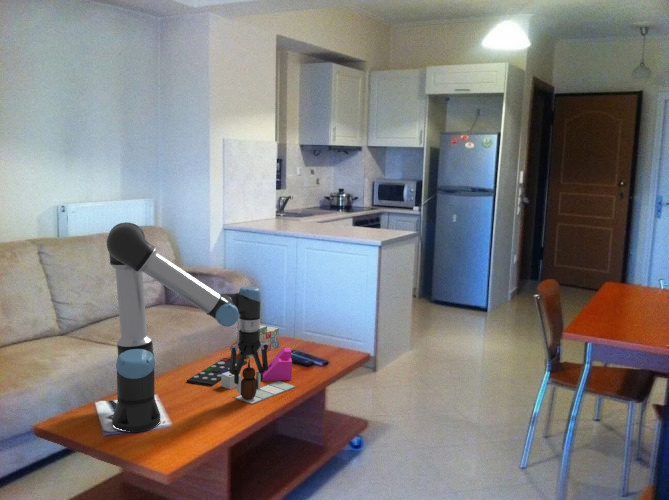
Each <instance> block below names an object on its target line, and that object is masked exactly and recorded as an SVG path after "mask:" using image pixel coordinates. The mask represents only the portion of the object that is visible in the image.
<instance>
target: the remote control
mask: <svg viewBox="0 0 669 500" xmlns="http://www.w3.org/2000/svg"><path fill="white" fill-rule="evenodd" d="M230 360H231V358H226V357H224V358H222V359H219V361H217V362H215V363H213V364H212V365H210V366H208V367H206V368H205V369H203V370H202V371H200V372H198V373H197V374H194V375H193V376H192V377H190V378H188V379H186V383H189V384H193V385H195V384H196V385H201V386H208V387H213V386H215V385H216V384H218V383H220V382H221V374H223V373H226V372H229V368H230ZM237 362H238V359H236V364H235V368H236V365H237ZM245 365H248V361H247V360H244V362H243V365H242V367H243V366H245Z"/></svg>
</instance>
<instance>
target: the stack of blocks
mask: <svg viewBox="0 0 669 500" xmlns="http://www.w3.org/2000/svg"><path fill="white" fill-rule="evenodd" d="M259 330H260V343H265V344H267V345H268V348H267V352H270V351H272V350H275V349H277V348H279V347H280V346H279V344H280V343H279V341H280V335H279V334H280V331H279V330H280V329H279V328H278V327H275V326H267V325H262V324H260V329H259ZM240 352H241V351H240V349H238V356H239V357H240ZM257 352H258V356H260V355H262V352H261V347H259V349H258V350H257ZM246 358H247V359H252V358H254V356H253V355H247V356H246ZM246 358H245V359H246Z"/></svg>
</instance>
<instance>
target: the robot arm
mask: <svg viewBox="0 0 669 500" xmlns="http://www.w3.org/2000/svg"><path fill="white" fill-rule="evenodd" d="M145 235H146V234H145V232H144V231H143V229H142V227H140V226H139V225H137V224H135V223H132V222H127V221H126V222H120V223H118V224H116V225H114V226H113V227H112V228H111V229H110V231H109V233H108V236H107V238H106V248H107V251H108V253H109V254H108V255H109V264H110V266H112V267H113V268H114V269H115V279H116V280H115V281H116V289H117V292H116V293H117V303H118V316H119V325H120V326H119V327H120V338H119V339H118V341H116V345H117V348H116V349H117V358H116V362H115V369H116V391H117V393H116V395H117V399H116V406H115V409H114V411H113V414H112V419H111V421H112V422H111V425H112V424H113V425H114V426H115V427H116V428H119V429H122V430H126V431H130V432H129V433H140V432H144V431H145V432H146V431H149V430H152V429H154V428H155V427H154V426H156V425H157V424H158V423H159V422H161V412H160V410H159V407H158V404H157V402H156V398H155V392H156V391H155V390H156V389H155V388H156V387H155V367H156V365H155V364H156V362H155V353H154V347H153V346H154V345H153V343H154V342H153V338H152V336H150V335H149V334H148V329H147V326H148V325H147V314H146V313H147V312H146V303H145V289H144V288H145V287H144V276H143V273H145V274H146V275H147V276H149V277H150V278H151V279H153V280H155V281H157V282H158V283H160V284H161V285H163V286H164V287H166V288H167V289H169V290H170V291H172V292H174V293H175V294H177V295H178V296H180V297H181V298H183V299H184V300H185V301H188V302H189V303H190V304H192V305H193V306H195V307H197V308H198V309H200V310H202V311H203V312H205V313H206V315H207V316H210V317H212V318H213V319H215V320H216V322H217V323H218V324H219V325H220V326H222V327H231V326H234V325H236V323H237V322H238V321H239V322H238V328H239V331H238V343H237V345H235V346H230V348H229V349H230V359H231V360H230V368H229V372H230V373H231V374H232V375H234V382H235V384H237V387H236V392H237V393H238V394H241V381H242V375H241V374H240V373H241V370H242V368H243V366H242V365H243V362H244V361H246V356H247V355H253V356H254V357H253V359H254V361H255V365H256V367H257V370H255V379H256V381H257V390H258V391H259V390H260V387H261V382H262V380H263V373H264V371H265V370H266V371H267V370H268V364H269V363H268V351H267V348H268V345H267V344H265V343H260V330H259V329H260V325H261V302H262V300H261V299H262V297H261V289H260V288H259V287H257V286H253V285H252V286H242V287H240V288H239V292H235V293H233V292H231V293H219V292H217V291H215V290H214V289H212V288H211V287H209V286H208V285H206V284H205V283H203V282H201V281H200V280H199V279H197V278H196V277H194V276H193V275H191V274H190V273H188V272H187V271H186V270H184V269H182V268H181V267H180V266H178V265H176V264H175V263H173V262H172V261H170V260H169V259H167V258H166V256H164V255H162V254H160V253H158V251H157V248H156V246H154V245H153V244H151V243H150V242H148V241H147V240H146V236H145ZM259 347H261V352H262V354H261V360H260V355H258V352H257V350H258V349H259ZM239 349H240V351H241V352H240V356H239V357H238V359H237V353H238V352H239ZM236 360H238V362H237V365H236V368H235V364H236ZM261 362H262V363H261ZM159 424H160V423H159ZM159 424H158V425H159ZM158 425H157V426H158ZM157 426H156V427H157ZM153 427H154V428H153ZM151 428H152V429H151Z"/></svg>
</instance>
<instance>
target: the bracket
mask: <svg viewBox="0 0 669 500" xmlns="http://www.w3.org/2000/svg"><path fill="white" fill-rule="evenodd" d="M291 349H292V348H291V347H283V348H282V349H281V350H280V351H279V352H278V353H277V354H276V355H275V357H274V358H273V360H271V361H270V362H269V363H268V370H267V371H266V370H265V371H264V373H263V380H262V381H292V380H293V379H292V377H293V374H292V373H293V360H292V350H291ZM262 381H261V382H262Z"/></svg>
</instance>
